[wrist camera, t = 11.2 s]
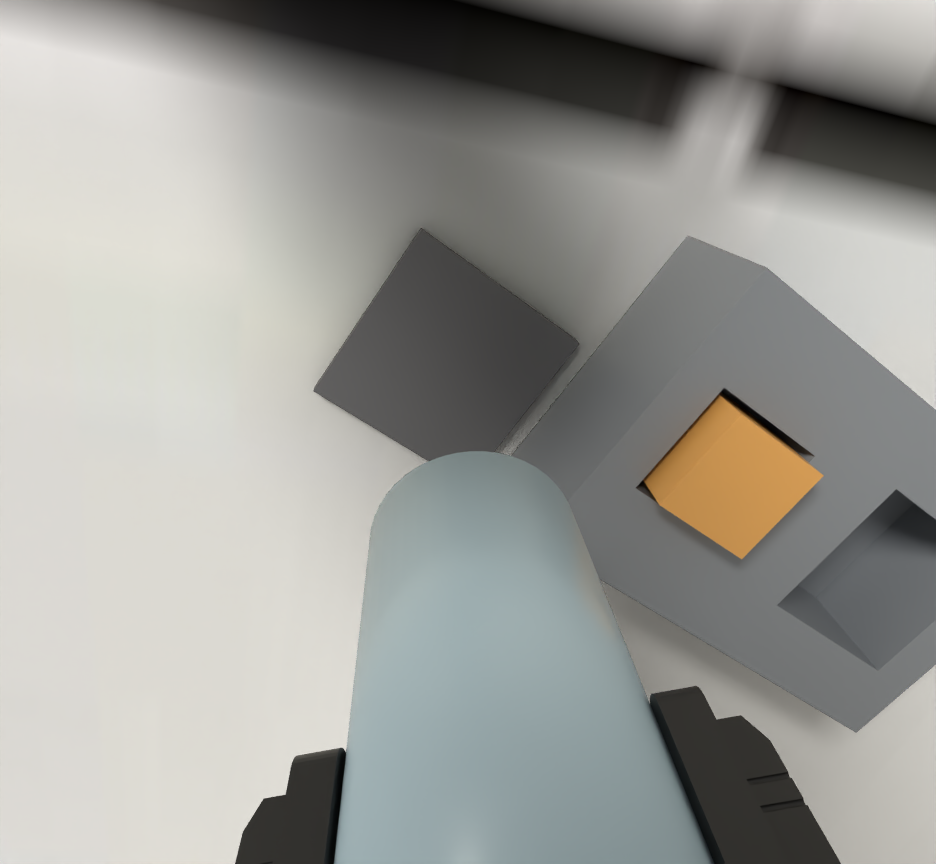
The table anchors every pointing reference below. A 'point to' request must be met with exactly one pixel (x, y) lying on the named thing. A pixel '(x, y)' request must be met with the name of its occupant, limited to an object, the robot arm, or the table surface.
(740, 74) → the table surface
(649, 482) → the orange rectangular block
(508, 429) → the mat
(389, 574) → the cartridge
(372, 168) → the table surface
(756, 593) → the housing
